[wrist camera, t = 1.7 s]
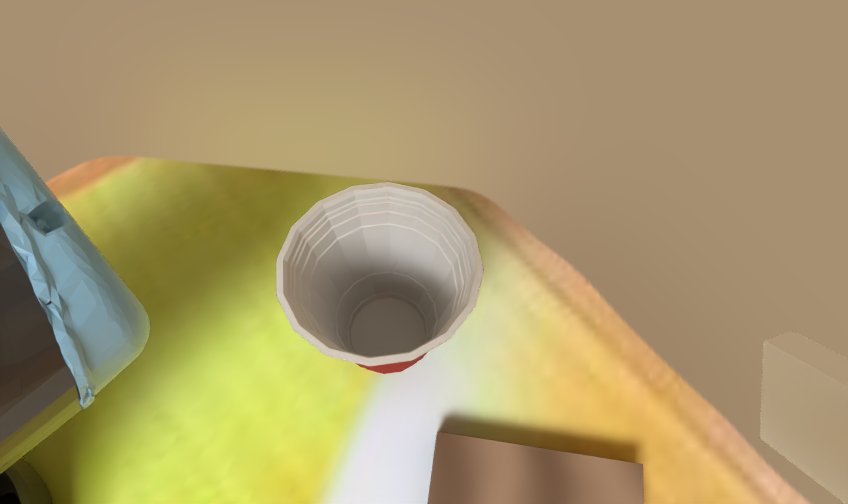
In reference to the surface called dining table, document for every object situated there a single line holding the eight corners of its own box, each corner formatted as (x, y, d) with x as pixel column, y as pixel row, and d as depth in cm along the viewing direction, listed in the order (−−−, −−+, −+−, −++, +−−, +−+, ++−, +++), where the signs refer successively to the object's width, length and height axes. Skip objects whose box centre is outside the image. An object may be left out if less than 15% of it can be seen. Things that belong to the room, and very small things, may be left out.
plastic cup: (432, 245, 41) (441, 152, 30) (484, 377, 36) (517, 324, 26) (295, 286, 39) (253, 203, 28) (333, 431, 35) (300, 397, 24)
